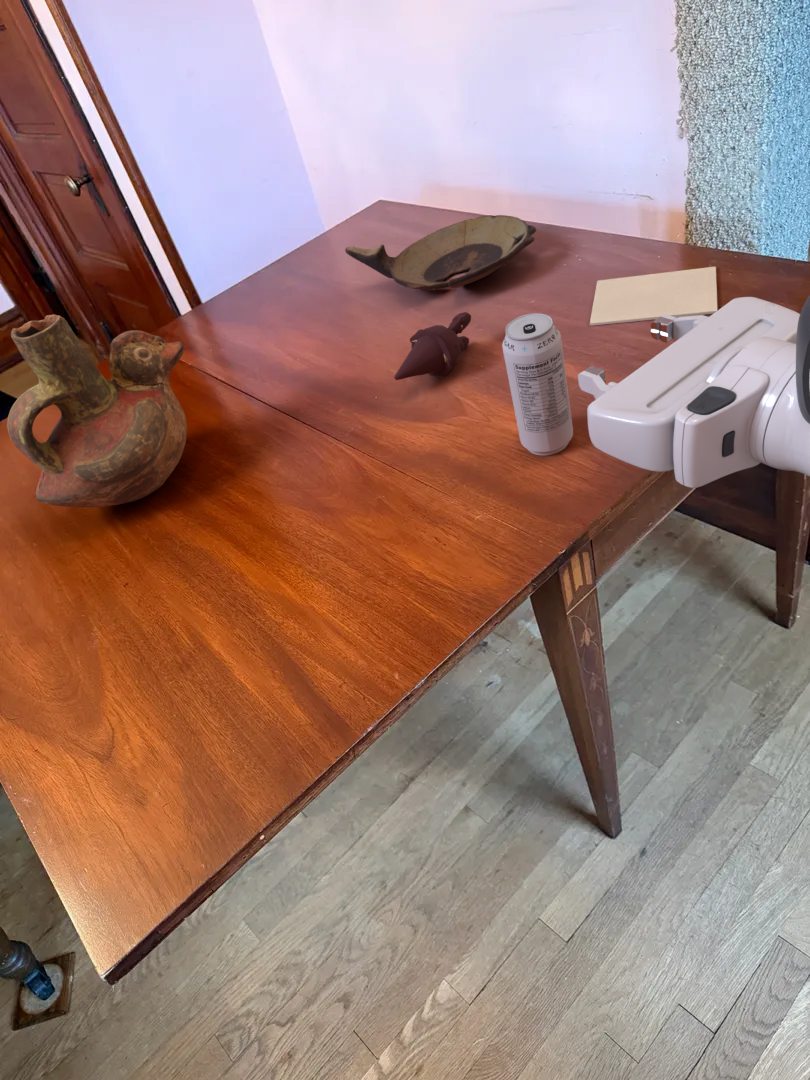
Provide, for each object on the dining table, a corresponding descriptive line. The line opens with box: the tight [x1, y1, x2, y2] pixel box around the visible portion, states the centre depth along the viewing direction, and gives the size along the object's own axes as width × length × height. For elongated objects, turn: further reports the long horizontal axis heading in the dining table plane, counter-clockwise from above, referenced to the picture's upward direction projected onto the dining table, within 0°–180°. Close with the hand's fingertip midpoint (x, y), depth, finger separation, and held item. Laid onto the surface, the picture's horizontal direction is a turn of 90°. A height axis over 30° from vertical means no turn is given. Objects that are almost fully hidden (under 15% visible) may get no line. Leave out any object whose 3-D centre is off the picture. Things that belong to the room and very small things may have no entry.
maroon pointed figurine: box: [393, 311, 472, 381], centre depth 101 cm, size 7×7×15 cm
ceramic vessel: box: [6, 314, 188, 508], centre depth 94 cm, size 17×26×25 cm, turn 132°
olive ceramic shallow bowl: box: [344, 214, 537, 291], centre depth 122 cm, size 22×30×8 cm
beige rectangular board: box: [589, 266, 719, 327], centre depth 102 cm, size 16×12×1 cm
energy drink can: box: [501, 312, 574, 457], centre depth 81 cm, size 6×6×15 cm
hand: (620, 350), depth 66 cm, fingers open, 8 cm apart
